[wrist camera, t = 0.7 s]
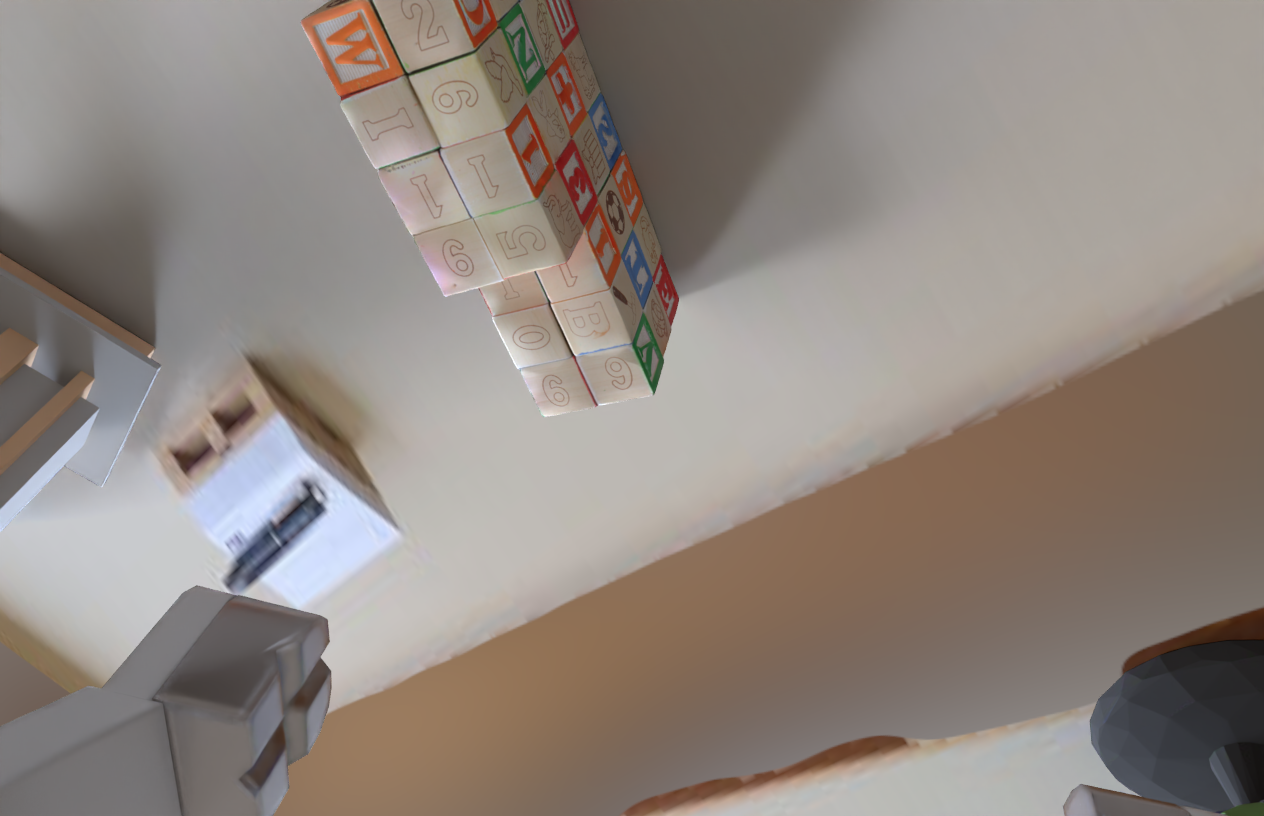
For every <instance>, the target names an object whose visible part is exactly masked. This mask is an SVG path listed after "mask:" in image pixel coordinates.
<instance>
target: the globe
mask: <svg viewBox="0 0 1264 816" xmlns="http://www.w3.org/2000/svg"><path fill="white" fill-rule="evenodd" d="M1090 728H1091V741H1092V745H1093V747H1094V748H1095V750H1096V751H1097V753H1098V755H1099V756H1100V758H1101V759H1102V761H1103V762H1104V764H1105V765H1106V767H1107V768H1108V770H1109V771H1110V772H1111V773H1112V774H1113V776H1114V777H1115V778H1116V779H1117V780H1118V781H1119V782H1121V783H1122V784H1123V785H1125V786H1126V787H1127V788H1128V789H1130V790H1132V791H1133V792H1135V793H1137V794H1138V795H1140V796H1142V797H1145V798H1149V799H1154V800H1159V801H1164V802H1168V803H1173V804H1176V805H1178V806H1186V807H1191V808H1195V809H1200V810H1205V811H1209V812H1214V813H1219V814H1223V815H1228V816H1264V640H1248V641H1221V642H1215V643H1209V644H1203V645H1197V646H1191V647H1186V648H1182V649H1179V650H1176V651H1173V652H1169V653H1166V654H1163V655H1159V656H1157V657H1155V658H1153V659H1151V660H1149V661H1147V662H1145V663H1143V664H1141V665H1139V666H1137V667H1135V668H1133V669H1131V670H1129V671H1127V672H1126V673H1125V674H1124V675H1123V676H1122V677H1121V678H1120V679H1119V680H1117V681H1116V683H1114V684H1113V685H1112V686H1111V687H1110V688H1109V689H1108V690H1107V691H1106V692H1105V693H1104V694H1103V695H1102V696H1101V697H1100V698H1099V699H1098V702H1097V704H1096V707H1095V709H1094V712H1093V714H1092V717H1091V719H1090Z"/></svg>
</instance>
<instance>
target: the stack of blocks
mask: <svg viewBox="0 0 1264 816" xmlns="http://www.w3.org/2000/svg"><path fill="white" fill-rule="evenodd" d="M300 23H301V25H302V27H303V29H304V31H305V33H306V35H307V37H308V39H309V40H310V42H311V44H312V46H313V48H314V50H315V52H316V54H317V55H318V57H319V59H320V61H321V63H322V65H323V67H324V69H325V71H326V73H327V75H328V77H329V79H330V80H331V82H332V84H333V86H334V88H335V90H336V92H337V94H338V95H339V96H340V97H341V101H340V104H341V108H342V109H343V111H344V113H345V115H346V117H347V119H348V121H349V123H350V125H351V126H352V128H353V130H354V131H355V133H356V135H357V137H358V139H359V141H360V143H361V145H362V147H363V148H364V150H365V152H366V154H367V155H368V157H369V159H370V161H371V163H372V164H373V166H374V167H375V168H376V169H378V170H379V171H378V177H379V179H380V181H381V182H382V185H383V187H384V189H385V190H386V192H387V194H388V195H389V197H390V199H391V201H392V203H393V205H394V207H395V208H396V210H397V212H398V214H399V216H400V217H401V219H402V221H403V223H404V225H405V227H406V229H407V230H408V232H409V233H410V234H412V235H413V237H414V241H415V243H416V245H417V247H418V249H419V251H420V253H421V254H422V256H423V258H424V260H425V262H426V264H427V265H428V267H429V269H430V271H431V273H432V275H433V277H434V278H435V280H436V282H437V284H438V285H439V287H440V289H441V291H442V293H443V295H444V296H445V297H447V296H450V295H453V294H457V293H461V292H464V291H468V290H472V289H475V288H479V290H480V292H481V294H482V296H483V298H484V300H485V302H486V304H487V306H488V308H489V310H490V312H491V314H492V320H493V322H494V324H495V326H496V328H497V330H498V332H499V334H500V336H501V338H502V340H503V342H504V344H505V346H506V348H507V350H508V352H509V354H510V356H511V358H512V360H513V362H514V364H515V366H516V367H517V368H518V369H520V371H521V374H522V376H523V378H524V380H525V383H526V385H527V386H528V388H529V390H530V392H531V395H532V397H533V399H534V401H535V402H536V405H537V407H538V409H539V411H540V413H541V415H542V416H543V417H548V416H554V415H559V414H564V413H569V412H574V411H580V410H585V409H591V408H595V407H596V406H598V405H606V404H611V403H616V402H622V401H626V400H631V399H637V398H641V397H647V396H652V395H654V393H655V391H656V388H657V384H658V381H659V378H660V374H661V370H662V367H663V363H664V359H663V356H664V353H665V350H666V346H667V343H668V340H669V336H670V333H671V326H672V323H673V319H674V317H675V314H676V310H677V306H678V302H679V298H678V295H677V292H676V290H675V287H674V285H673V282H672V280H671V277H670V275H669V272H668V270H667V267H666V264H665V262H664V259H663V256H662V255H661V251H662V250H661V247H660V244H659V241H658V239H657V236H656V233H655V231H654V228H653V225H652V223H651V220H650V218H649V215H648V212H647V210H646V207H645V205H644V204H643V199H642V196H641V193H640V190H639V187H638V185H637V182H636V179H635V177H634V174H633V171H632V168H631V166H630V163H629V161H628V158H627V155H626V152H625V151H624V150H623V149H622V147H621V143H620V140H619V137H618V135H617V132H616V130H615V127H614V124H613V122H612V119H611V116H610V114H609V111H608V108H607V106H606V103H605V100H604V97H603V95H602V94H601V92H600V89H599V85H598V83H597V80H596V77H595V75H594V72H593V69H592V67H591V64H590V61H589V59H588V56H587V53H586V51H585V48H584V45H583V43H582V40H581V37H580V35H579V28H578V25H577V22H576V19H575V16H574V13H573V11H572V8H571V5H570V3H569V0H331V1H329V2H328V3H326V4H325V5H323V6H322V7H320V8H319V9H317V10H316V11H314V12H312V13H311V14H309V15H308V16H306V17H305V18H304V19H302V20H301V22H300Z"/></svg>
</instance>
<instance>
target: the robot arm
mask: <svg viewBox="0 0 1264 816" xmlns="http://www.w3.org/2000/svg"><path fill="white" fill-rule="evenodd" d="M329 642H330V640H329V629H328V620H327V619H326V618H324V617H322V616H320V615H316V614H312V613H308V612H304V611H300V610H296V609H292V608H288V607H284V606H280V605H276V604H272V603H268V602H264V601H260V600H256V599H252V598H248V597H244V596H240V595H238V596H237V595H233V594H229V593H225V592H221V591H217V590H213V589H209V588H205V587H201V586H197V585H196V586H195V587H193V588H191V589H189V590H187V591H185V592H184V593H182V594H181V595H180V597H179V598H178V599H177V600H176V601H175V602H174V604H173V605H172V606H171V607H170V608H169V610H168V611H167V612H166V613H165V614H164V615H163V617H162V618H161V619H160V620H159V621H158V622H157V624H156V625H155V626H154V627H153V628H152V630H151V631H150V632H149V633H148V634H147V635H146V637H145V638H144V639H143V640H142V641H141V642H140V644H139V645H138V646H137V647H136V648H135V650H134V651H133V652H132V653H131V654H130V655H129V657H128V658H127V659H126V660H125V661H124V662H123V664H122V665H121V666H120V667H119V668H118V670H117V671H116V672H115V673H114V674H113V675H112V677H111V678H110V679H109V680H108V681H107V682H106V684H105V685H104V686H103V687H102V688H96V687H92V686H87V687H85V688H83V689H81V690H78V691H76V692H74V693H72V694H70V695H67V696H65V697H63V698H61V699H59V700H56V701H54V702H52V703H50V704H48V705H46V706H43V707H41V708H39V709H37V710H35V711H33V712H30V713H28V714H26V715H24V716H21V717H19V718H17V719H15V720H13V721H11V722H8V723H6V724H4V725H2V726H0V816H273V815H274V813H275V811H276V810H277V808H278V806H279V804H280V802H281V801H282V799H283V797H284V796H285V794H286V792H287V790H288V789H289V777H288V765H290V764H292V763H294V762H296V761H297V760H299V759H301V758H302V757H304V756H306V755H308V753H309V752H310V750H311V748H312V746H313V744H314V743H315V741H316V739H317V737H318V735H319V733H320V731H321V728H322V725H323V722H324V719H325V716H326V713H327V710H328V708H329V701H330V695H331V688H332V685H331V670H330V669H329V668H328V666H327V665H326V664H325V663H324V661H323V660H322V659H321V655H322V653H323V652H324V650H325V648H326V647H327V645H328V644H329ZM1063 809H1064V814H1065V816H1228V815H1223V814H1219V813H1214V812H1209V811H1205V810H1200V809H1195V808H1191V807H1186V806H1178V805H1176V804H1173V803H1168V802H1164V801H1159V800H1154V799H1149V798H1145V797H1140V796H1135V795H1131V794H1126V793H1121V792H1116V791H1112V790H1107V789H1102V788H1098V787H1093V786H1088V785H1083V784H1080V785H1079V786H1077V787H1076V788H1075V789H1073V790H1072V791H1071V793H1070V795H1069V797H1068V799H1067V800H1066V802H1065V804H1064V806H1063Z"/></svg>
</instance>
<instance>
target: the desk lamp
mask: <svg viewBox="0 0 1264 816" xmlns="http://www.w3.org/2000/svg"><path fill="white" fill-rule="evenodd" d="M154 350H155V347H153V346H151V345H150V344H148V343H147V342H145V341H143V340H142V339H140V338H138V337H137V336H135V335H134V334H132V333H130V332H129V331H127V330H125V329H124V328H122V327H120V326H119V325H117V324H116V323H114V322H112V321H111V320H109V319H107V318H106V317H104V316H103V315H101V314H99V313H98V312H96V311H94V310H93V309H91V308H89V307H88V306H86V305H85V304H83V303H81V302H80V301H78V300H76V299H75V298H73V297H72V296H70V295H68V294H67V293H65V292H63V291H62V290H60V289H58V288H57V287H55V286H54V285H52V284H50V283H49V282H47V281H45V280H44V279H42V278H40V277H39V276H37V275H36V274H34V273H32V272H31V271H29V270H27V269H26V268H24V267H23V266H21V265H19V264H18V263H16V262H14V261H13V260H11V259H9V258H8V257H6V256H5V255H3V254H1V253H0V532H1V531H2V530H3V529H4V528H5V527H6V526H7V525H8V523H9V522H10V521H11V520H12V519H13V518H14V517H15V516H16V515H17V514H18V513H19V512H20V511H21V510H22V509H23V508H24V507H25V506H26V505H27V504H28V503H29V502H30V501H31V500H32V498H33V497H34V496H35V495H36V494H37V493H38V492H39V491H40V490H41V489H42V488H43V487H44V486H45V485H46V484H47V483H48V482H49V481H50V480H51V479H52V478H53V477H54V476H55V475H56V473H57V472H58V471H59V470H60V469H61V468H62V467H63V466H65V467H66V468H68V469H70V470H72V471H73V472H75V473H77V474H79V475H80V476H82V477H84V478H86V479H87V480H89V481H91V482H93V483H94V484H96V485H98V486H100V487H102V486H103V485H104V484H105V483H106V481H107V478H108V476H109V474H110V472H111V470H112V468H113V466H114V464H115V462H116V460H117V458H118V455H119V453H120V451H121V449H122V447H123V445H124V443H125V441H126V439H127V437H128V435H129V433H130V430H131V428H132V426H133V424H134V422H135V420H136V418H137V416H138V414H139V412H140V410H141V407H142V405H143V403H144V401H145V399H146V397H147V395H148V393H149V391H150V389H151V387H152V384H153V382H154V380H155V378H156V376H157V374H158V372H159V370H160V368H161V366H162V365H160V364H159V363H157V362H155V361H154V360H152V359H151V357H152V354H153V352H154Z"/></svg>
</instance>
